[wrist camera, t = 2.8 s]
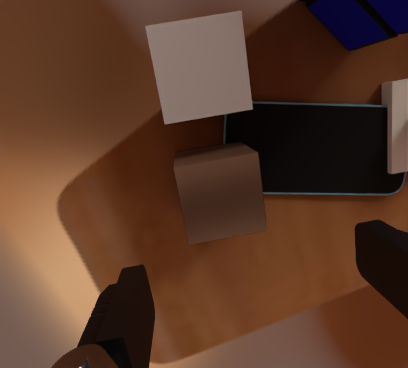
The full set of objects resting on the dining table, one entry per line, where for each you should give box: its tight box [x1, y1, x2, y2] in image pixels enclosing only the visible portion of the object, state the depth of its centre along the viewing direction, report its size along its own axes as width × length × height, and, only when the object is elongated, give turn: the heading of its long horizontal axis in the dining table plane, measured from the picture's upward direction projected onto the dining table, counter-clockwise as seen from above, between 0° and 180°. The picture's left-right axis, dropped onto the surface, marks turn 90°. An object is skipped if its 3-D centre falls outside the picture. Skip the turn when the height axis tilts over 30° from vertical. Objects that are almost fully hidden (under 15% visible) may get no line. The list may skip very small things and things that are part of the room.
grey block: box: [145, 11, 253, 124], centre depth 19 cm, size 5×5×6 cm
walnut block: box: [173, 142, 267, 245], centre depth 21 cm, size 5×5×6 cm
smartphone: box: [223, 101, 407, 195], centre depth 23 cm, size 7×1×15 cm
